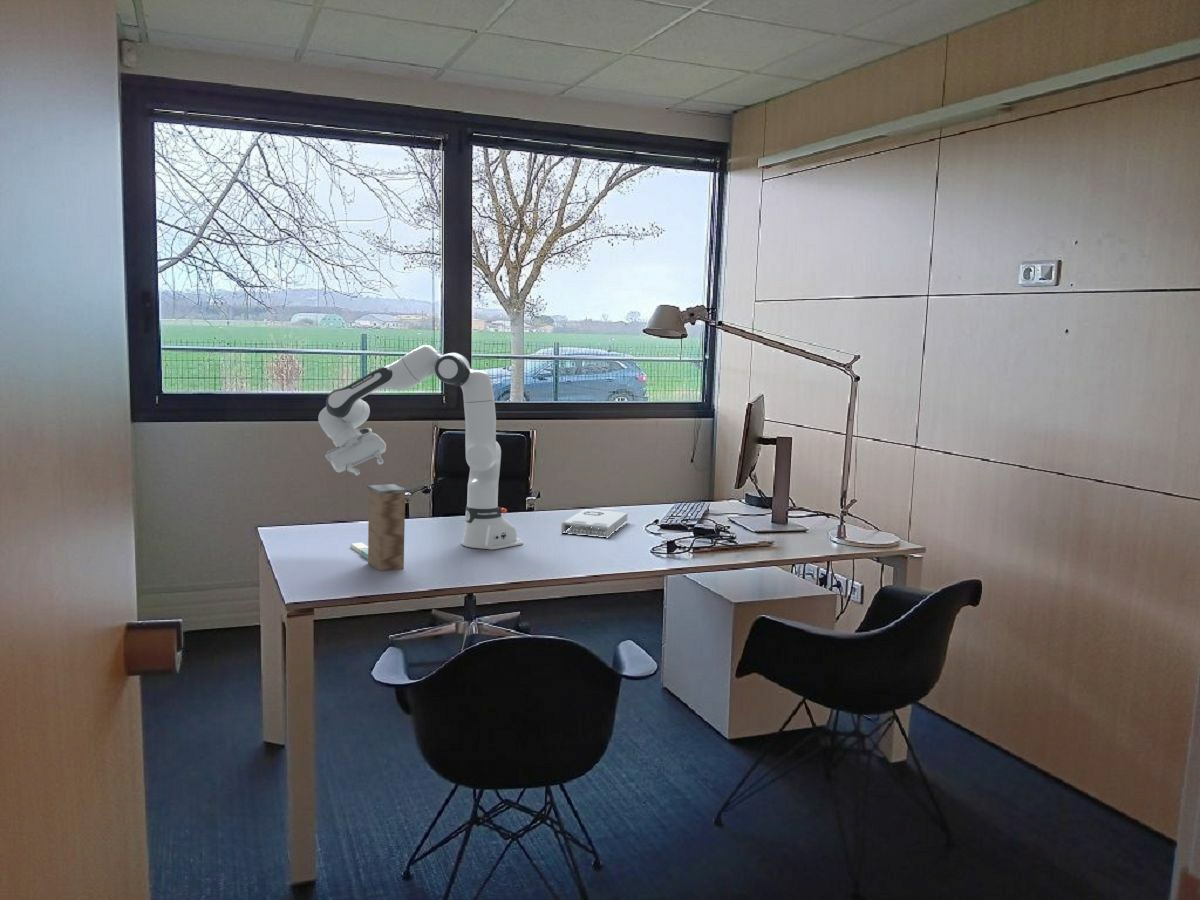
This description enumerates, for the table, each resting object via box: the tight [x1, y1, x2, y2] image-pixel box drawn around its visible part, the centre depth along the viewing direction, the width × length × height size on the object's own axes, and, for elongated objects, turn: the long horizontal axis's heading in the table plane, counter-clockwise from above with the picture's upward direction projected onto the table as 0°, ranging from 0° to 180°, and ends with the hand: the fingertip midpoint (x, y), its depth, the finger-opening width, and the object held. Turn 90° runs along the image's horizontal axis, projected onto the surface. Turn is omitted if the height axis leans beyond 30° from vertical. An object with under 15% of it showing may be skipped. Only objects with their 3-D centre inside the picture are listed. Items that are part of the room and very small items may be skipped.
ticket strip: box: [350, 542, 368, 561], centre depth 304 cm, size 5×20×2 cm, turn 34°
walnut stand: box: [367, 483, 408, 572], centre depth 287 cm, size 9×11×26 cm
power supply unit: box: [560, 508, 628, 537], centre depth 361 cm, size 19×33×5 cm, turn 165°
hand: (370, 468), depth 311 cm, fingers open, 8 cm apart
